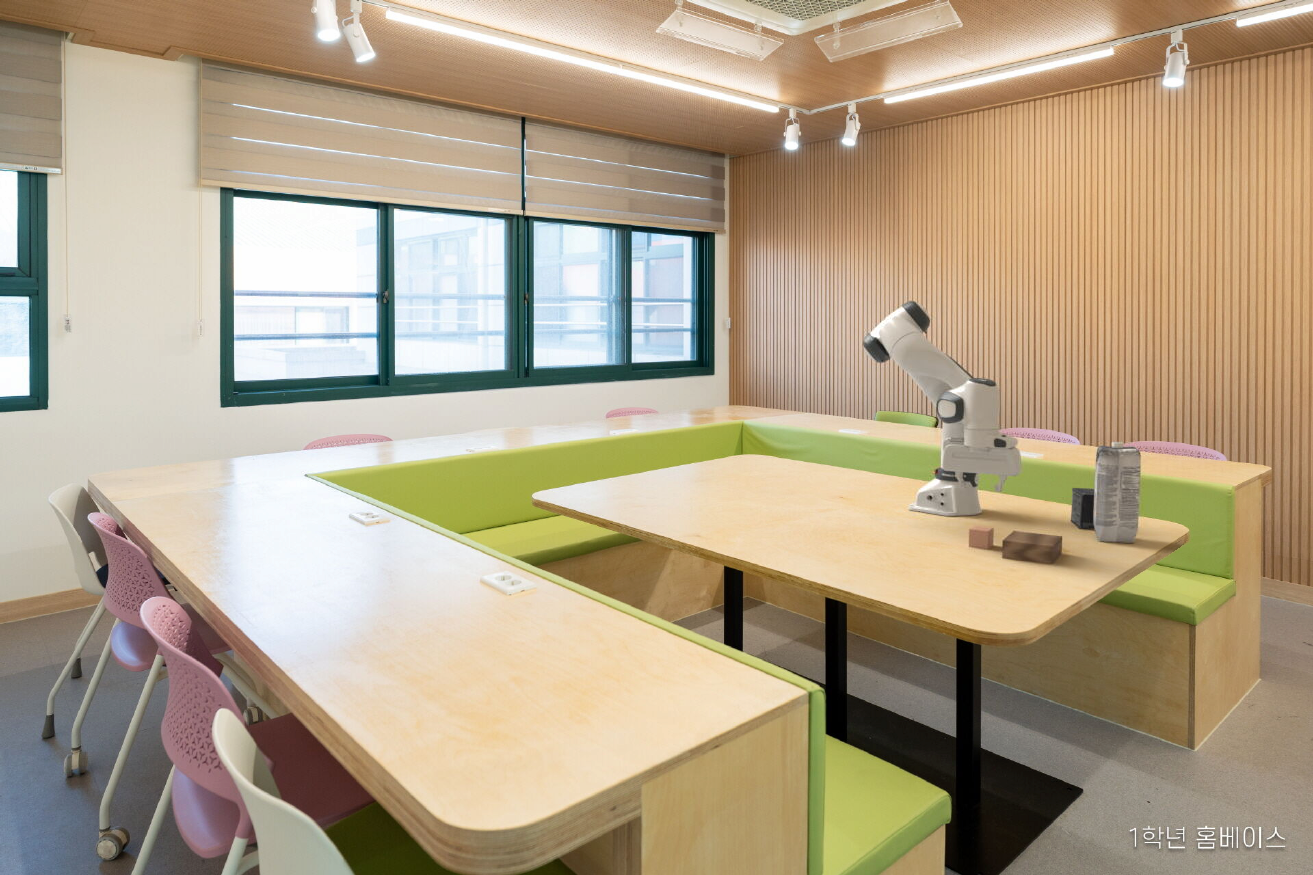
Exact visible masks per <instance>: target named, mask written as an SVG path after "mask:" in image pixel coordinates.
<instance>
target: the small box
mask: <svg viewBox="0 0 1313 875" xmlns="http://www.w3.org/2000/svg"><path fill="white" fill-rule="evenodd" d="M1071 490H1072V491H1071V492H1072V494H1071V498H1072V499H1071V514H1070V522H1071V523H1072V524H1073V525H1074V524H1075V525H1074V526H1075V527H1077V528H1078V529H1079V530H1095V528H1094V522H1093V518H1094V491H1095V488H1086V487H1085V488H1084V487H1083V488H1081V487H1072V488H1071Z"/></svg>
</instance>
